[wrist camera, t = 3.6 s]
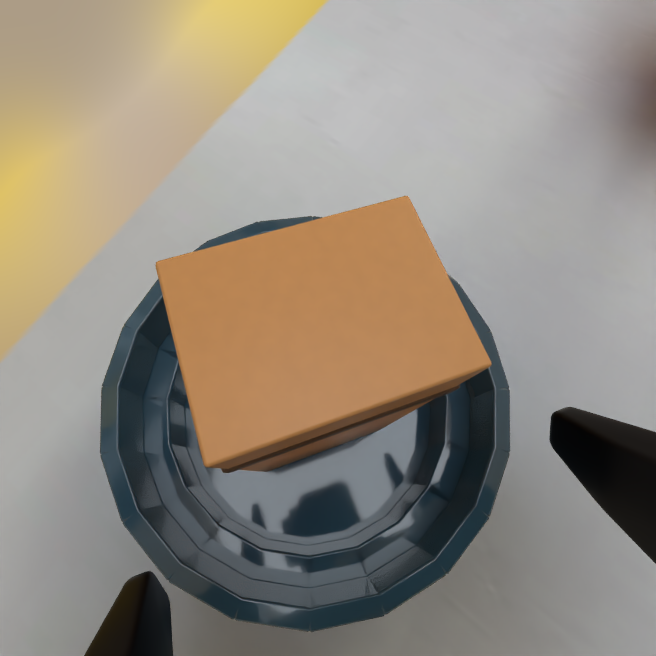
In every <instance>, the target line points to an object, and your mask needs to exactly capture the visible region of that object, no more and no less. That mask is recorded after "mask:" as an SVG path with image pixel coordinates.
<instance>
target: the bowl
mask: <svg viewBox="0 0 656 656" xmlns="http://www.w3.org/2000/svg"><path fill="white" fill-rule="evenodd" d="M320 218H322V217H316V216H313V217H312V216H308V217H298V218H289V219H279V220H269V221H260V222H255V223H253V224H250V225H248V226H245V227H243V228H240V229H237V230H235V231H232V232H230V233H227V234H225V235H222V236H219V237H217V238H214V239H212V240H209V241H207V243H204V244H203V245H201V246H200V247H199V248H197V249H196V250H195V251H199V250H202V249H206V248H210V247H214V246H218V245H221V244H225V243H229V242H233V241H237V240H240V239H244V238H248V237H252V236H255V235H259V234H263V233H267V232H271V231H274V230H278V229H282V228H286V227H290V226H293V225H297V224H301V223H305V222H309V221H312V220H316V219H320ZM195 251H193V252H195ZM447 275H448V274H447ZM448 277H449V279H450V281H451V283H452V285H453V287H454V289H455V291H456V293H457V295H458V297H459V299H460V301H461V303H462V305H463V307H464V309H465V311H466V313H467V315H468V317H469V319H470V321H471V323H472V325H473V327H474V329H475V331H476V333H477V335H478V337H479V339H480V341H481V343H482V345H483V347H484V349H485V351H486V353H487V355H488V357H489V359H490V361H491V366H490V367H489V368H487V369H485V370H484V371H482V372H480V373H478V374H477V375H475V376H473V377H471V378H470V379H468V380H466V381H465V382H463V383H461V384H460V387H459V388H458V389H457V390H455V391H453V392H451V393H449V394H446V395H443V396H440V397H438V398H435V399H433V400H431V401H430V402H428V403H426V404H424V405H423V406H421V407H419V408H417V409H416V410H414V411H412V412H410V413H409V414H407V415H405V416H403V417H402V418H400V419H398V420H396V421H395V422H393V423H391V424H389V425H388V426H386V427H384V428H382V429H381V430H379V431H376V432H373V433H371V434H368V435H365V436H363V437H360V438H357V439H354V440H352V441H349V442H346V443H344V444H341V445H338V446H335V447H333V448H330V449H327V450H325V451H322V452H319V453H316V454H314V455H311V456H308V457H306V458H303V459H300V460H298V461H295V462H292V463H289V464H287V465H284V466H281V467H279V468H276V469H273V470H270V471H268V472H261V471H248V470H237V471H234V472H231V473H223V472H222V471H221V468H209V467H205V466H204V464H203V460H202V456H201V452H200V448H199V444H198V439H197V435H196V431H195V427H194V423H193V419H192V415H191V411H190V406H189V402H188V398H187V394H186V390H185V386H184V382H183V377H182V373H181V369H180V365H179V361H178V357H177V353H176V348H175V344H174V340H173V336H172V332H171V328H170V324H169V320H168V315H167V311H166V307H165V303H164V299H163V295H162V291H161V286H160V282H159V278H158V280H157V281H156V283H155V284H154V285H153V287H152V288H151V289H150V291H149V292H148V293H147V295H146V296H145V297H144V299H143V300H142V301H141V303H140V304H139V305H138V307H137V308H136V309H135V311H134V312H133V313H132V315H131V316H130V317H129V319H128V320H127V321H126V323H125V324H124V327H123V328H122V331H121V334H120V336H119V339H118V342H117V345H116V348H115V350H114V353H113V356H112V359H111V362H110V365H109V367H108V370H107V373H106V376H105V379H104V382H103V384H102V386H103V387H102V392H101V436H100V454H101V459H102V462H103V465H104V468H105V471H106V475H107V478H108V481H109V484H110V487H111V490H112V493H113V496H114V499H115V502H116V505H117V509H118V512H119V515H120V518H121V521H122V522H123V525H124V526H125V527H126V529H127V530H128V531H129V532H130V534H131V535H132V536H133V537H134V539H135V540H136V541H137V542H138V544H139V545H140V546H141V548H142V549H143V550H144V551H145V553H146V554H147V555H148V556H149V558H150V559H151V560H152V562H153V563H154V564H155V565H156V567H157V568H158V569H159V570H160V572H161V573H162V574H163V575H164V577H165V578H166V579H167V580H169V582H170V583H172V584H173V585H175V586H177V587H178V588H180V589H182V590H184V591H185V592H187V593H189V594H190V595H192V596H194V597H195V598H197V599H199V600H200V601H202V602H204V603H206V604H207V605H209V606H211V607H212V608H214V609H216V610H217V611H219V612H221V613H222V614H224V615H226V616H228V617H229V618H231V619H235V620H237V621H243V622H250V623H256V624H262V625H268V626H275V627H281V628H287V629H294V630H300V631H306V632H308V631H311V632H314V631H319V630H323V629H328V628H332V627H337V626H341V625H346V624H350V623H355V622H360V621H364V620H369V619H373V618H378V617H382V616H384V615H385V614H388V613H390V612H391V611H393V610H394V609H396V608H397V607H399V606H400V605H402V604H403V603H405V602H406V601H408V600H409V599H411V598H412V597H414V596H415V595H417V594H418V593H420V592H421V591H423V590H425V589H426V588H428V587H429V586H431V585H432V584H434V583H435V582H437V581H438V580H440V579H441V578H443V577H444V576H445V575H446V574H448V573H449V572H450V570H451V569H452V568H453V566H454V565H455V564H456V562H457V561H458V559H459V558H460V557H461V555H462V554H463V553H464V551H465V550H466V549H467V547H468V546H469V545H470V543H471V542H472V541H473V539H474V538H475V537H476V535H477V534H478V533H479V531H480V530H481V528H482V527H483V526H484V524H485V523H486V522H487V520H488V519H489V517H488V516H490V514H491V511H492V508H493V505H494V502H495V499H496V495H497V492H498V489H499V486H500V483H501V480H502V477H503V473H504V470H505V467H506V464H507V461H508V458H509V452H510V392H509V386H508V383H507V379H506V376H505V373H504V370H503V367H502V364H501V361H500V358H499V354H498V351H497V348H496V345H495V342H494V339H493V336H492V333H491V332H490V329H489V327H488V326H487V324H486V323H485V321H484V320H483V318H482V317H481V315H480V314H479V313H478V311H477V310H476V308H475V307H474V305H473V304H472V302H471V301H470V299H469V298H468V296H467V295H466V293H465V292H464V290H463V289H462V287H461V286H460V285H459V284H458V282H457V281H455V280H454V279H453V278H452V277H451V276H449V275H448Z"/></svg>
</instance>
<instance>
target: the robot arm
mask: <svg viewBox="0 0 656 656" xmlns="http://www.w3.org/2000/svg"><path fill="white" fill-rule="evenodd" d="M550 443H551V445H552V447H553V449H554V450H555V452H556V453H557V454H558V455H559V456H560V458H561V459H562V460H563V461H564V463H565V464H566V465H567V466H568V468H569V469H570V470H571V471H572V472H573V474H574V475H575V476H576V477H577V479H578V480H579V481H580V482H581V484H582V485H583V486H584V487H585V488H586V490H587V491H588V492H589V493H590V495H591V496H592V497H593V498H594V499H595V501H596V502H597V503H598V504H599V505H600V506H601V508H602V509H603V510H604V511H605V512H606V513H607V514H608V515H609V516H610V517H611V518H612V519H613V520H614V521H615V522H616V523H617V524H618V525H619V526H620V527H621V529H622V530H623V531H624V532H625V533H626V534H627V535H628V536H629V537H630V538H631V539H632V540H633V541H634V542H635V543H636V544H637V545H638V546H639V547H640V548H641V549H642V550H643V551H644V552H645V553H646V554H647V555H648V556H649V557H650V558H651V559H652V560H653V562H654V563H655V564H656V432H653V431H650V430H647V429H643V428H640V427H637V426H633V425H630V424H627V423H623V422H620V421H617V420H613V419H610V418H607V417H603V416H600V415H597V414H593V413H590V412H587V411H583V410H580V409H577V408H573V407H566V408H563V409H561V410H558V411H556V412H554V413H553V414H552V416H551V426H550ZM84 656H173V646H172V628H171V611H170V602H169V598H168V595H167V593H166V592H165V590H164V588H163V587H162V585H161V584H160V582H159V581H158V579H157V578H156V576H155V575H154V574H153V572H151V571H147V572H144V573H141V574H139V575H136V576H134V577H132V578H130V579H129V580H128V581H127V582H126V583H125V584H124V586H123V588H122V590H121V591H120V593H119V595H118V597H117V598H116V600H115V602H114V604H113V606H112V607H111V609H110V611H109V613H108V614H107V616H106V618H105V620H104V621H103V623H102V625H101V627H100V629H99V630H98V632H97V634H96V636H95V637H94V639H93V641H92V643H91V644H90V646H89V648H88V650H87V652H86V653H85V655H84Z"/></svg>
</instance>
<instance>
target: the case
mask: <svg viewBox="0 0 656 656" xmlns="http://www.w3.org/2000/svg"><path fill="white" fill-rule="evenodd" d="M156 270H157V274H158V278H159V282H160V286H161V291H162V295H163V299H164V303H165V307H166V311H167V315H168V320H169V324H170V328H171V332H172V336H173V340H174V344H175V348H176V353H177V357H178V361H179V365H180V369H181V373H182V377H183V382H184V386H185V390H186V394H187V398H188V402H189V406H190V411H191V415H192V419H193V423H194V427H195V431H196V435H197V439H198V444H199V448H200V452H201V456H202V460H203V464H204V466H205V467H209V468H221V471H222V472H223V473H231V472H234V471H237V470H248V471H261V472H268V471H270V470H273V469H276V468H279V467H281V466H284V465H287V464H289V463H292V462H295V461H298V460H300V459H303V458H306V457H308V456H311V455H314V454H316V453H319V452H322V451H325V450H327V449H330V448H333V447H335V446H338V445H341V444H344V443H346V442H349V441H352V440H354V439H357V438H360V437H363V436H365V435H368V434H371V433H373V432H376V431H379V430H381V429H382V428H384V427H386V426H388V425H389V424H391V423H393V422H395V421H396V420H398V419H400V418H402V417H403V416H405V415H407V414H409V413H410V412H412V411H414V410H416V409H417V408H419V407H421V406H423V405H424V404H426V403H428V402H430V401H431V400H433V399H435V398H438V397H440V396H443V395H446V394H449V393H451V392H453V391H455V390H457V389H458V388H459V387H460V384H461V383H463V382H465V381H466V380H468V379H470V378H471V377H473V376H475V375H477V374H478V373H480V372H482V371H484V370H485V369H487V368H489V367H490V366H491V361H490V359H489V357H488V355H487V353H486V351H485V349H484V347H483V345H482V343H481V341H480V339H479V337H478V335H477V333H476V331H475V329H474V327H473V325H472V323H471V321H470V319H469V317H468V315H467V313H466V311H465V309H464V307H463V305H462V303H461V301H460V299H459V297H458V295H457V293H456V291H455V289H454V287H453V285H452V283H451V281H450V279H449V277H448V275H447V273H446V271H445V269H444V267H443V265H442V263H441V261H440V259H439V257H438V255H437V253H436V251H435V249H434V247H433V245H432V243H431V241H430V239H429V237H428V235H427V233H426V231H425V229H424V227H423V225H422V223H421V221H420V219H419V217H418V215H417V213H416V211H415V209H414V207H413V205H412V203H411V201H410V199H409V197H408V196H403V197H399V198H396V199H392V200H388V201H384V202H380V203H377V204H373V205H369V206H365V207H362V208H358V209H354V210H350V211H346V212H343V213H339V214H335V215H331V216H327V217H324V218H320V219H316V220H312V221H309V222H305V223H301V224H297V225H293V226H290V227H286V228H282V229H278V230H274V231H271V232H267V233H263V234H259V235H255V236H252V237H248V238H244V239H240V240H237V241H233V242H229V243H225V244H221V245H218V246H214V247H210V248H206V249H202V250H199V251H195V252H191V253H187V254H184V255H180V256H176V257H172V258H168V259H165V260H161V261H158V262H156Z"/></svg>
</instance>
